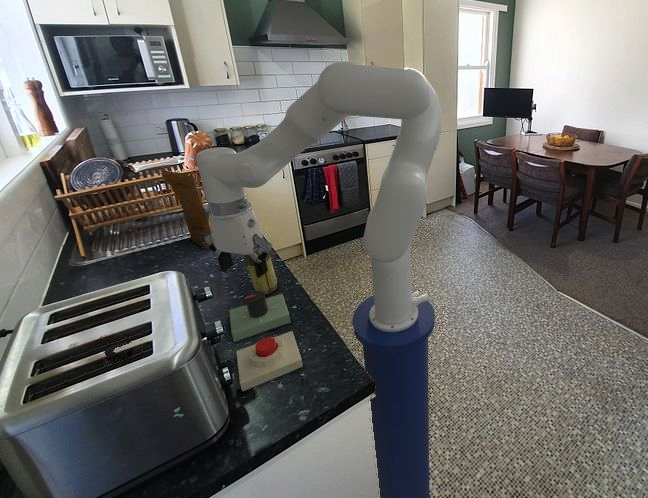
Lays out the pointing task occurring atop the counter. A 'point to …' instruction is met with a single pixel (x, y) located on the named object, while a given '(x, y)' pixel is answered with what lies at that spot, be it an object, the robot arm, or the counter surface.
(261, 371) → the button housing
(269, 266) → the sauce bottle
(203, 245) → the pancake mix bag
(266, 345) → the button
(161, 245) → the counter surface
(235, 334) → the dial panel
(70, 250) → the counter surface
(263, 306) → the dial
